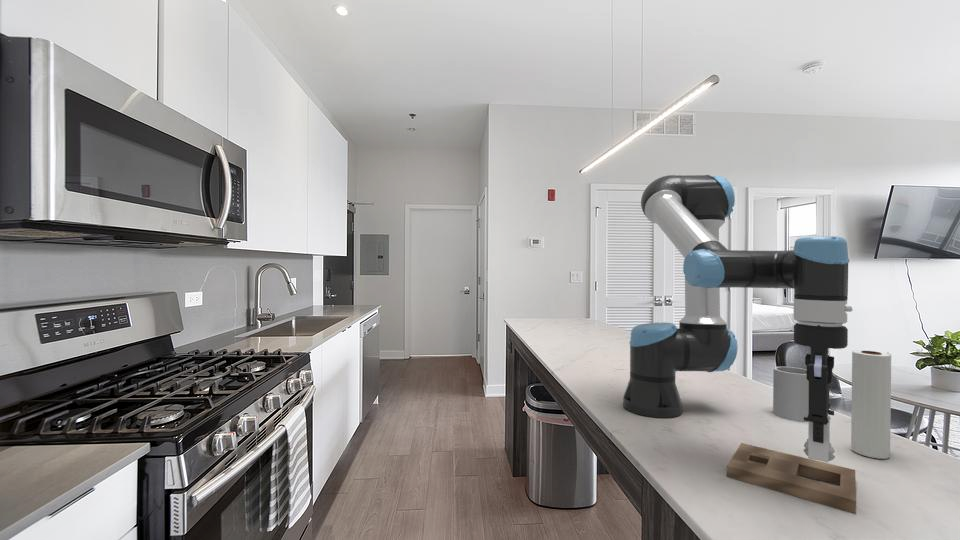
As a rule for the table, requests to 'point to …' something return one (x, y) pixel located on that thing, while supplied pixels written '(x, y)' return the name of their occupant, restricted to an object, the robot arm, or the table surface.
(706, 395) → the table surface
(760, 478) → the socket board
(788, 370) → the cup
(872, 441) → the paper towel roll
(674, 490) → the table surface
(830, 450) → the rook chess piece
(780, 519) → the table surface
